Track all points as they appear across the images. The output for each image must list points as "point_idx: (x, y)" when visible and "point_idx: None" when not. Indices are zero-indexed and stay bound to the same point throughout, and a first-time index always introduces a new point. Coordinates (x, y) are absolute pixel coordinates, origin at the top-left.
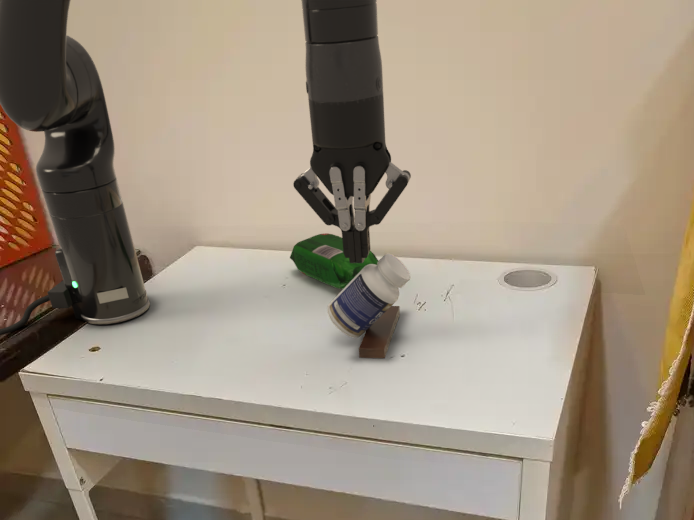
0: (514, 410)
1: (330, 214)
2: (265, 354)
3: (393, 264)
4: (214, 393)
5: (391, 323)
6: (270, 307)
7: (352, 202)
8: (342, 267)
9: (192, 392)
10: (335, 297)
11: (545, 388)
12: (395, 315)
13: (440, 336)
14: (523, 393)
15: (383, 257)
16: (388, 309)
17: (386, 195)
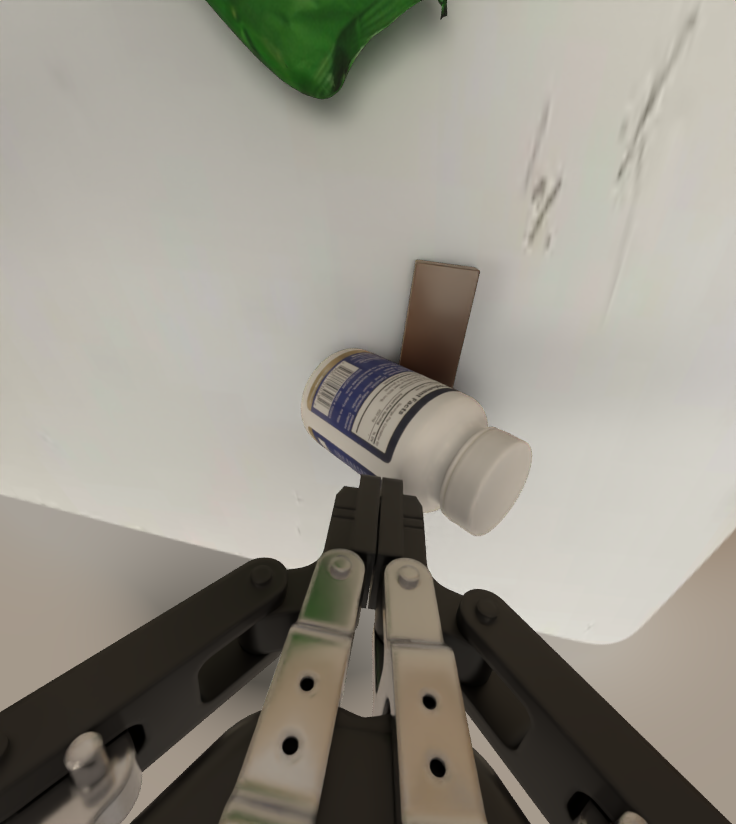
0: (601, 606)
1: (264, 664)
2: (203, 429)
3: (489, 509)
4: (171, 532)
5: (451, 374)
6: (111, 175)
7: (352, 634)
8: (288, 60)
9: (137, 527)
10: (317, 420)
11: (671, 569)
12: (464, 331)
13: (553, 392)
14: (632, 576)
15: (462, 516)
16: (448, 293)
17: (541, 805)
